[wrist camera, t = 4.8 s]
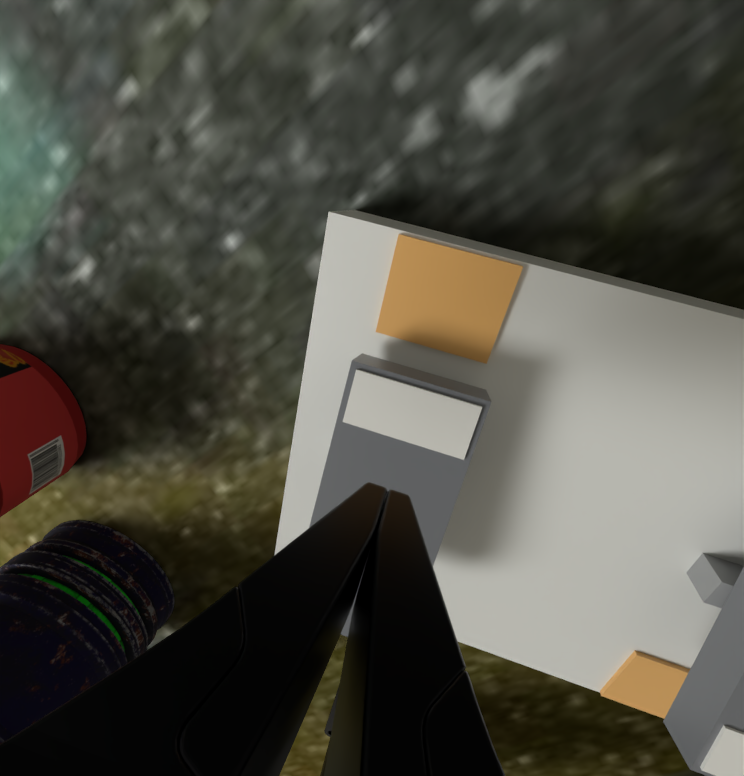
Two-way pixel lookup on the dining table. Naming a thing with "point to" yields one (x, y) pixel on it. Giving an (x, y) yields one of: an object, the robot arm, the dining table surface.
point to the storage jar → (73, 617)
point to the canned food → (34, 427)
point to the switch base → (551, 446)
